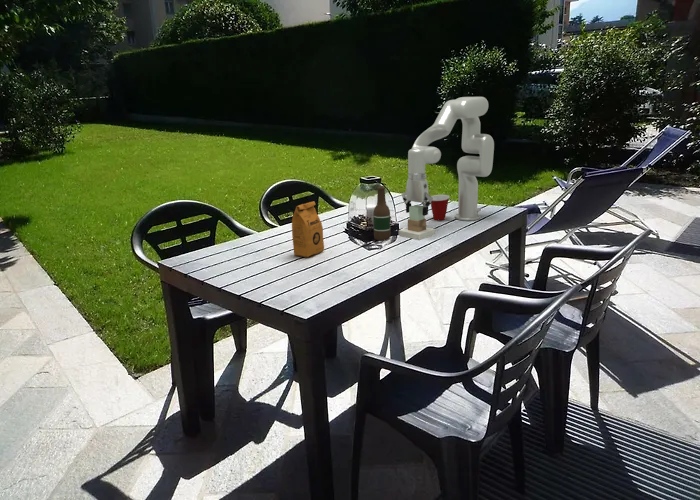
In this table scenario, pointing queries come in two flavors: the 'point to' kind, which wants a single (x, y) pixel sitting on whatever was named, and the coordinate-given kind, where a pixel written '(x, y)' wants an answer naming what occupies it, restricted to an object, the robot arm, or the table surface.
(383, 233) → the beer bottle
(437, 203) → the plastic cup
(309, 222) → the coffee package
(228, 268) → the table surface
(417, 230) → the walnut block
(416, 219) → the sage block
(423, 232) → the base slab
